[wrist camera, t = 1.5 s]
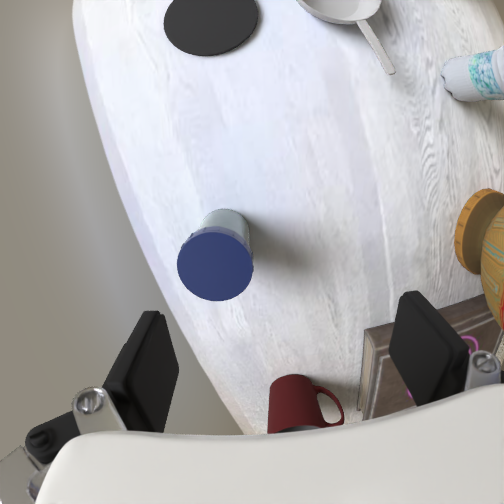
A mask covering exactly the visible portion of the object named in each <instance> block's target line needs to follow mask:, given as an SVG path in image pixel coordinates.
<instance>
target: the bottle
mask: <svg viewBox="0 0 504 504" xmlns="http://www.w3.org/2000/svg"><path fill="white" fill-rule="evenodd" d="M441 76H442V77H444V78H445V81H446V82H445V84H444V87H445V89H446V90H448V91H450V92H451V93H452V96H453V97H454V98H455V99H457V100H460V101H466V102H473V101H481V100H504V45H503V46H501V47H500V48H499V49H498V50H493V51H488V52H483V53H478V54H474V55H469V56H460V57H455V58H452V59H449V60H448V61H446V62H445V67H444V68H443V69H442V71H441Z"/></svg>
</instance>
